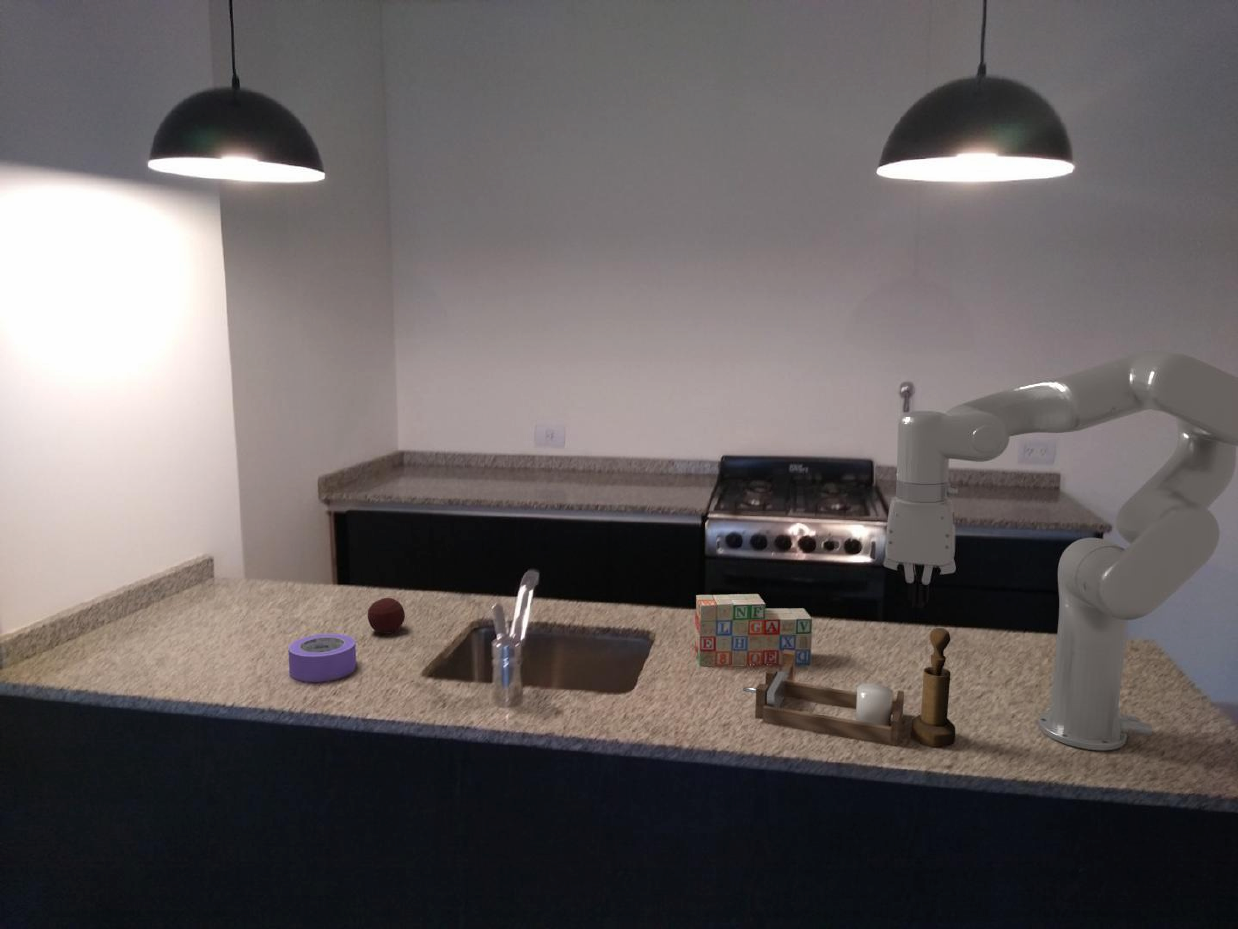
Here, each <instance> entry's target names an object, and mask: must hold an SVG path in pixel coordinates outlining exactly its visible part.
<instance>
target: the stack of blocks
mask: <svg viewBox="0 0 1238 929" xmlns="http://www.w3.org/2000/svg"><path fill="white" fill-rule="evenodd" d="M695 598H696V599H695V602H696V604H695V606H696V607H695V612H694V614H695V616H694V617H695V619H694V622H695V623H694V624H695V625H694V626H695V630H694V631H695V632H694V633H695V634H694V635H695V636H694V637H695V639H694V640H695V642H694V655H695V657H696V660H697V662H698V666H699V667H732V666H731V665H750V664H751V666H770V665H769V664H773V665H772V666H782V653H783V651H784V649H786V650H793V651H796V657H795V666H798V665H799V666H803V665H806V664H807V666H809V665H811V659H812V658H811V656H812V655H811V654H812V650H811V649H812V636H813V635H812V633H813V632H812V631H813V630H812V629H813V618H812V617H811V615H810V614H809V613H808V612H807V610H806V609H805V608H803V607H802V608H800V607H799V608H785V607H784V608H766V603H765V602H764V600H763V599H762V597H761V596H760V594H758V593H748V594H747V593H746V594H745V593H744V594H743V593H741V594H740V593H737V594H736V593H735V594H732V593H731V594H698V595H697V594H696V595H695ZM753 664H754V665H753ZM761 664H762V665H761ZM767 664H768V665H767ZM774 664H775V665H774ZM777 664H778V665H777ZM808 664H809V665H808ZM728 665H730V666H728Z"/></svg>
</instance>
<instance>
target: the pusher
mask: <svg viewBox="0 0 1238 929" xmlns="http://www.w3.org/2000/svg"><path fill="white" fill-rule="evenodd" d="M795 657H796V651H793V650H786V649H784V651H783V653H782V665H781V671H777V675H776V677H775V679H774V681H773V682H772V684H771V686H770V688H769V689H768V691H767V706H772V707H778V708H780V706H781V704H782V703H783V700H784V698H785V697H784V696H785V681H788V682H794V683H795V675H796V665H795ZM756 688H757V687H750V686H749V687H748V686H742V692H746V693H752V694H756Z"/></svg>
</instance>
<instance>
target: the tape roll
mask: <svg viewBox="0 0 1238 929" xmlns="http://www.w3.org/2000/svg"><path fill="white" fill-rule="evenodd" d="M356 648H357V646H356V640H355V638H353V637H352V636H349V635H346V634H340V633H320V634H315V635H308V636H305V637H302V638H299V639H297V640H294V641H293V642H291V643H290V644H289V645H288V648H287V649H288V666H289V667H288V670H289V676H290V677H291V678H292V679H294V680H297V681H301V682H304V683H305V682H306V683H323V682H330V681H333V680H338V679H342V678H344V677H346V676H349V675H351V674H352V673H353V672H354V671H355V670H356V668H357V651H356Z"/></svg>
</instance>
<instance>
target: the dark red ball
mask: <svg viewBox="0 0 1238 929" xmlns="http://www.w3.org/2000/svg"><path fill="white" fill-rule="evenodd" d="M405 619H406V615H405V610H404V607H403V605H402V604H401V603H400V602H399V601H398V600H396V599H395V598H392V597H384V598H381V599H378V600H376V601H374V602H373V603H372V604H371V606H370V607H369V608H368V611H367V620H368V624H369V625H370V627H371V628H372V629H373V630H374V631H375V632H377V633H380V634H391V633H394V632H396V631H397V630H399V629H400V628H401V627H402V625H403V624H404V622H405Z"/></svg>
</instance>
